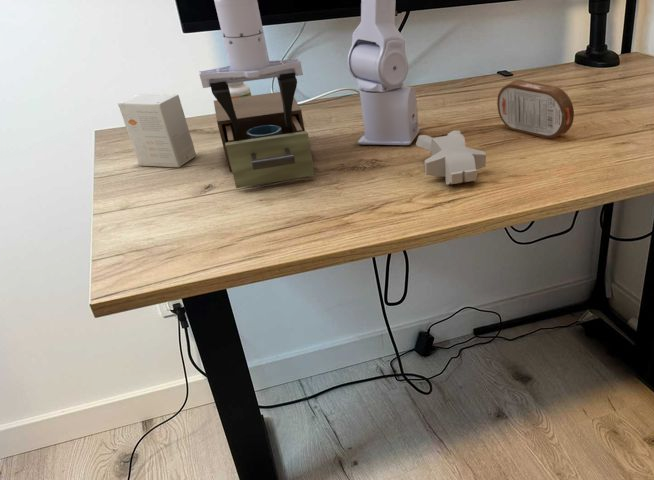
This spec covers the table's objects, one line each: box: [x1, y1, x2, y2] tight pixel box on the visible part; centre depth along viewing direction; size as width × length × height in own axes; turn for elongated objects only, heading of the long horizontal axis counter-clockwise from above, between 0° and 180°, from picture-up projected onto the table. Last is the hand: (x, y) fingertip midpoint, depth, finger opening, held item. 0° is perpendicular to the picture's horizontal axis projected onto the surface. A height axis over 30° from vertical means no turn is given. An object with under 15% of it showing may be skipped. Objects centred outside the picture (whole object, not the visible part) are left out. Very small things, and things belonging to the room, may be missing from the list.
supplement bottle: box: [228, 82, 252, 98], centre depth 124 cm, size 5×5×10 cm
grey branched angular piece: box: [415, 130, 487, 186], centre depth 101 cm, size 10×5×15 cm
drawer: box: [225, 115, 316, 189], centre depth 101 cm, size 17×12×7 cm
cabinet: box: [213, 91, 306, 173], centre depth 111 cm, size 13×13×8 cm
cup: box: [247, 125, 282, 139], centre depth 103 cm, size 5×5×5 cm
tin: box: [496, 79, 575, 140], centre depth 113 cm, size 15×3×8 cm, turn 47°
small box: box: [117, 93, 197, 168], centre depth 109 cm, size 8×6×10 cm
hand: (264, 129), depth 101 cm, fingers open, 7 cm apart
